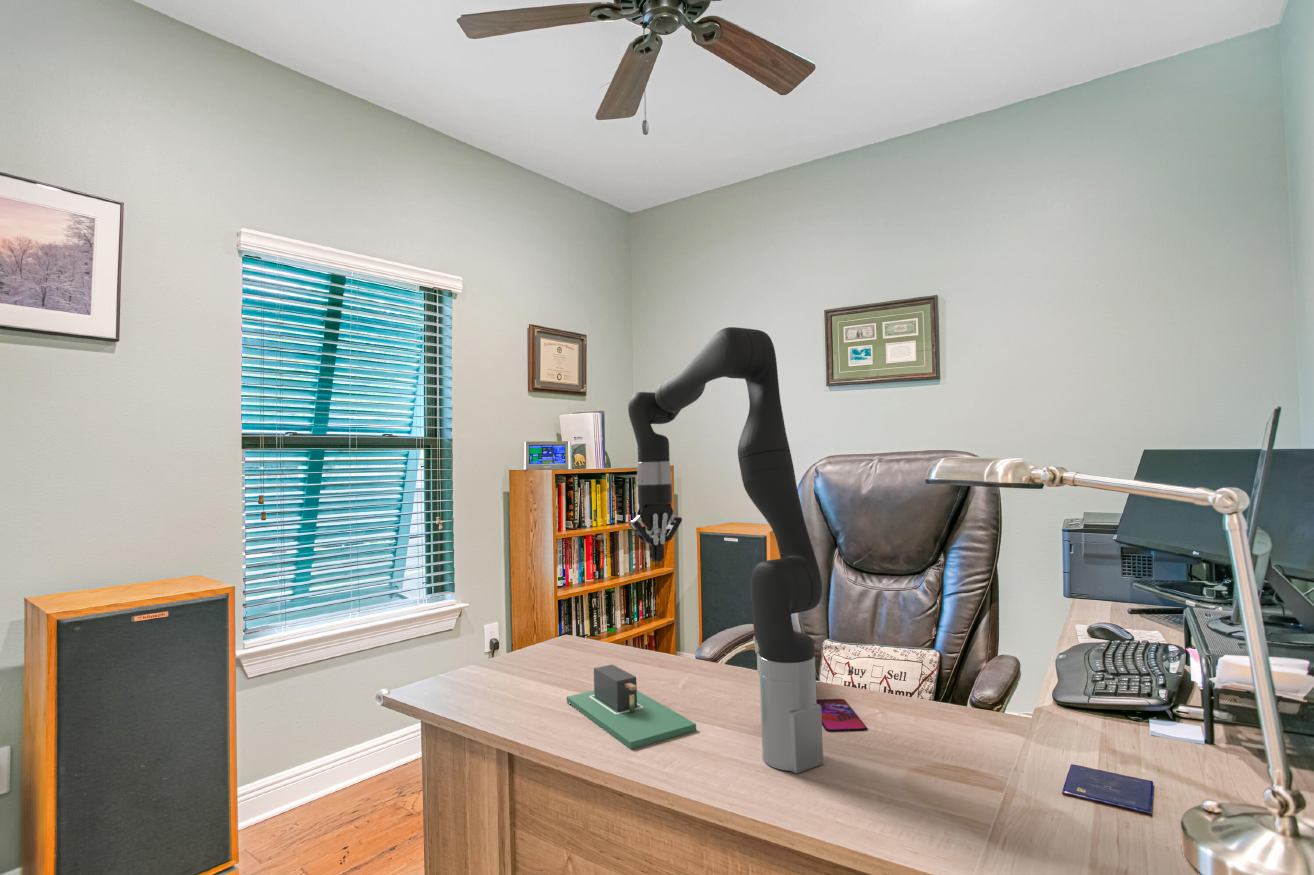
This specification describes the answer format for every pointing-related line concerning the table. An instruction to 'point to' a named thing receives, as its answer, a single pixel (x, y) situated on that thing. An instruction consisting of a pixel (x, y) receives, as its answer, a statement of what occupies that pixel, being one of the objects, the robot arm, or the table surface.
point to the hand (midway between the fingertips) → (657, 561)
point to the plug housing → (614, 687)
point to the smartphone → (839, 716)
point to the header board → (633, 719)
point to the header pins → (631, 703)
